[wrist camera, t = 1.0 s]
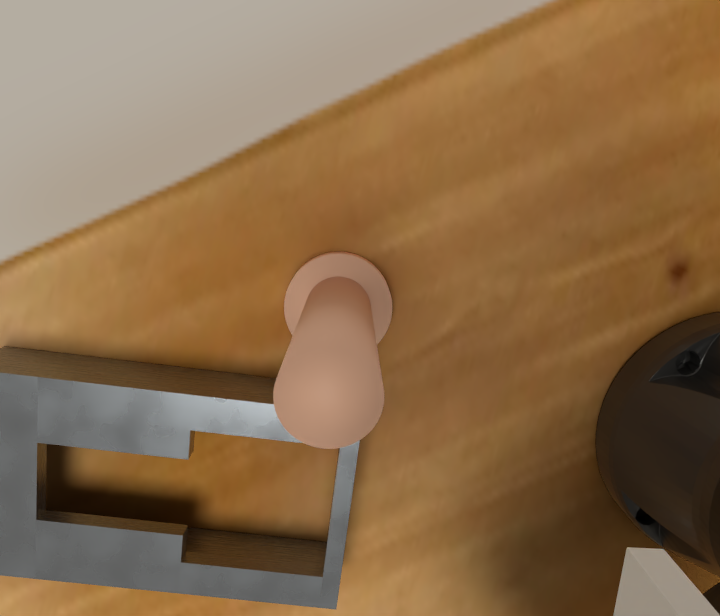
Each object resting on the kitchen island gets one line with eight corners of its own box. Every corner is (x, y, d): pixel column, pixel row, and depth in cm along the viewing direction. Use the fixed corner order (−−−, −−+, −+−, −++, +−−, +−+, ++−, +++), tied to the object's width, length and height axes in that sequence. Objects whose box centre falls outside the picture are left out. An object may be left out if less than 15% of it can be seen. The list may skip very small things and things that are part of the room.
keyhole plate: (361, 388, 34) (363, 414, 30) (337, 564, 37) (336, 609, 33) (4, 346, 34) (-41, 367, 30) (5, 529, 36) (-38, 571, 32)
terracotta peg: (397, 258, 33) (434, 319, 18) (383, 358, 34) (406, 491, 19) (292, 245, 32) (244, 295, 18) (282, 346, 34) (228, 471, 19)
